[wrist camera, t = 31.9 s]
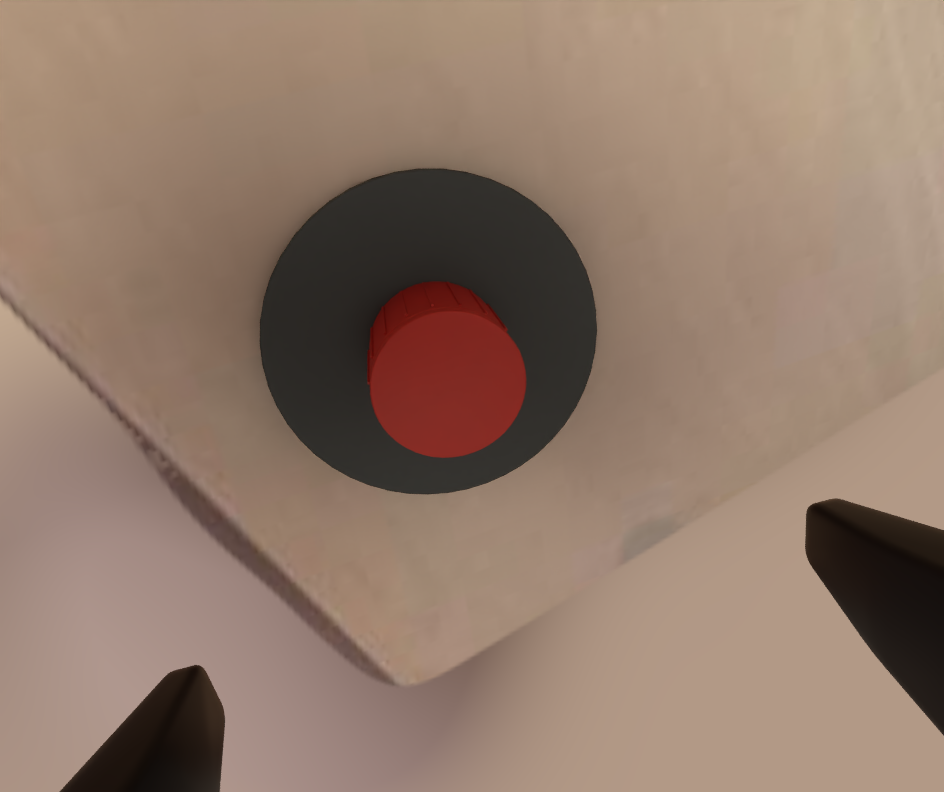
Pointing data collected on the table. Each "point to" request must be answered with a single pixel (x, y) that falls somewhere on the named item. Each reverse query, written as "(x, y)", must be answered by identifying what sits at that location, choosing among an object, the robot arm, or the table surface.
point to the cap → (443, 371)
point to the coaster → (401, 266)
